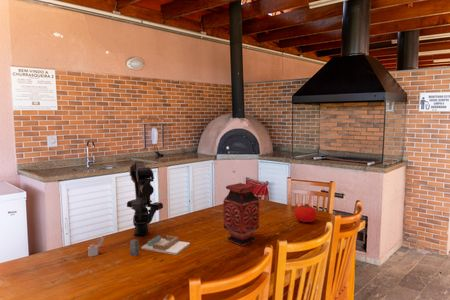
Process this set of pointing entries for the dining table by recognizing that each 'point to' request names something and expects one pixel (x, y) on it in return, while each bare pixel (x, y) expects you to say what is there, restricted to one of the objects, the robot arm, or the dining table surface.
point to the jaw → (154, 240)
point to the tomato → (305, 213)
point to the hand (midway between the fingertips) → (145, 221)
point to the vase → (241, 213)
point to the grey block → (134, 247)
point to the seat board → (167, 245)
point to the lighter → (94, 248)
